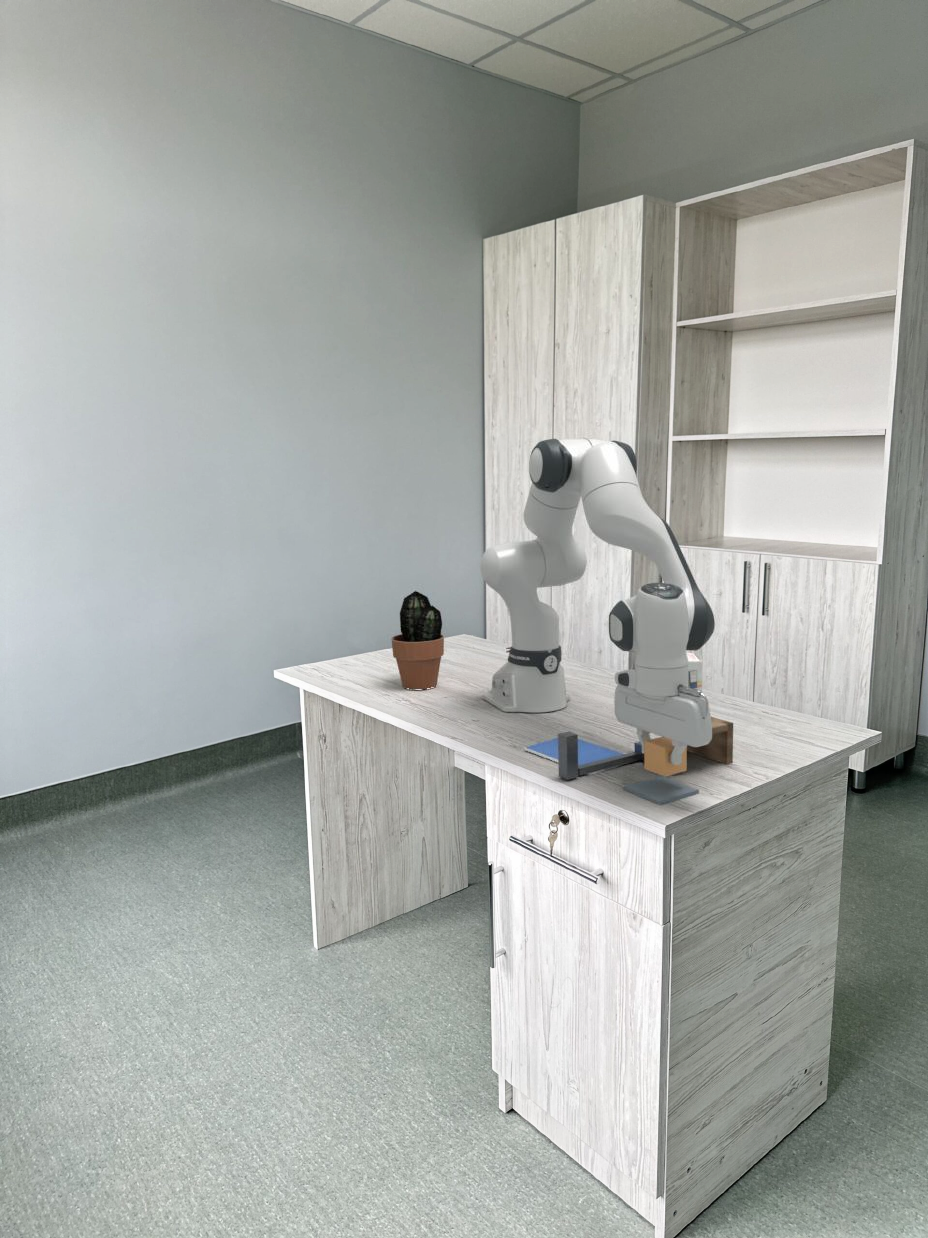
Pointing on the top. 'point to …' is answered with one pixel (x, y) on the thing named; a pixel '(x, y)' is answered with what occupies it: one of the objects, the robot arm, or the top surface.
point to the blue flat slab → (585, 752)
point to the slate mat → (661, 789)
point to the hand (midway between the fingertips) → (661, 758)
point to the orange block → (662, 757)
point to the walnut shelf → (718, 742)
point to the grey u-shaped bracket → (572, 770)
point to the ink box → (695, 669)
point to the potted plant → (418, 642)
